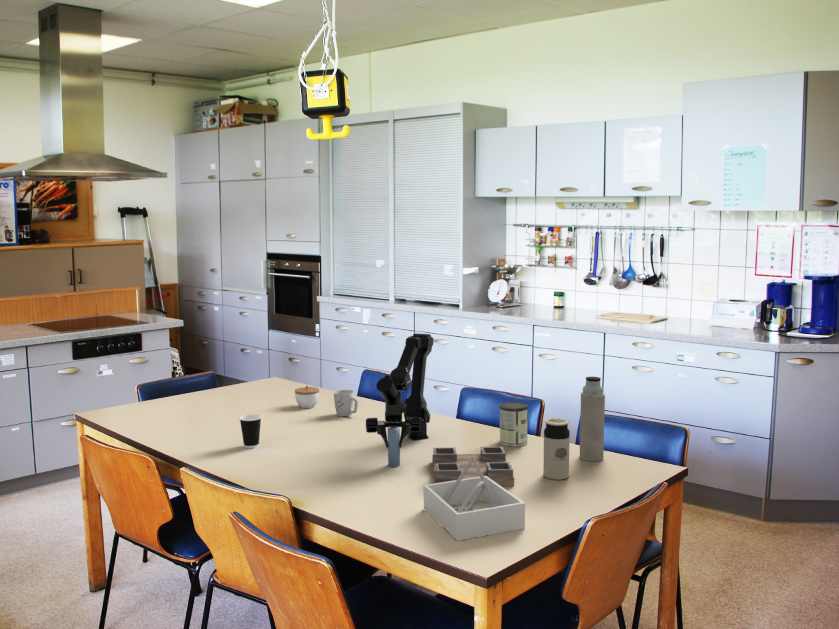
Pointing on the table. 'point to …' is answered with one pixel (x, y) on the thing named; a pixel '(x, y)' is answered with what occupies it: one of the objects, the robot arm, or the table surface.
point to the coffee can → (513, 423)
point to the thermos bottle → (592, 420)
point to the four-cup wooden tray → (472, 465)
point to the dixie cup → (250, 430)
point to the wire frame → (481, 485)
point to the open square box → (477, 521)
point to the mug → (345, 402)
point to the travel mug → (556, 449)
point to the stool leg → (393, 447)
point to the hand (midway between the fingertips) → (393, 447)
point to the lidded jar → (307, 396)
